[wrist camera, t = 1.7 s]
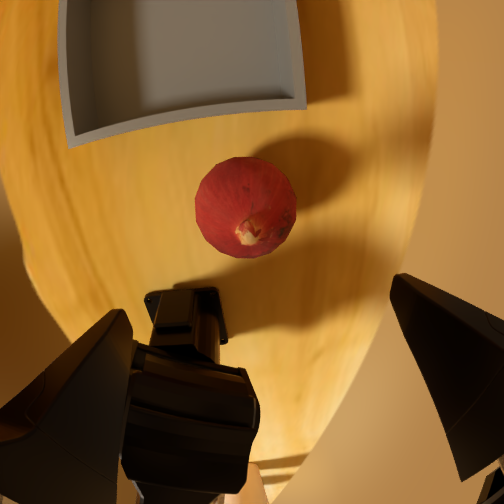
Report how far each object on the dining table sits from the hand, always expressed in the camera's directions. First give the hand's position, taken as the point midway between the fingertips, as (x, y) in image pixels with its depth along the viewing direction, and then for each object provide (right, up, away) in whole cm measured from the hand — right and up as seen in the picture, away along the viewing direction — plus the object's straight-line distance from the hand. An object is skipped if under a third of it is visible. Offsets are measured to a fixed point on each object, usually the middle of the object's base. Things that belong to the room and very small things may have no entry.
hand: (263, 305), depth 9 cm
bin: (-5, +16, +5) cm, 17 cm away
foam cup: (-2, -43, +38) cm, 58 cm away
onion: (-1, +6, +11) cm, 13 cm away
